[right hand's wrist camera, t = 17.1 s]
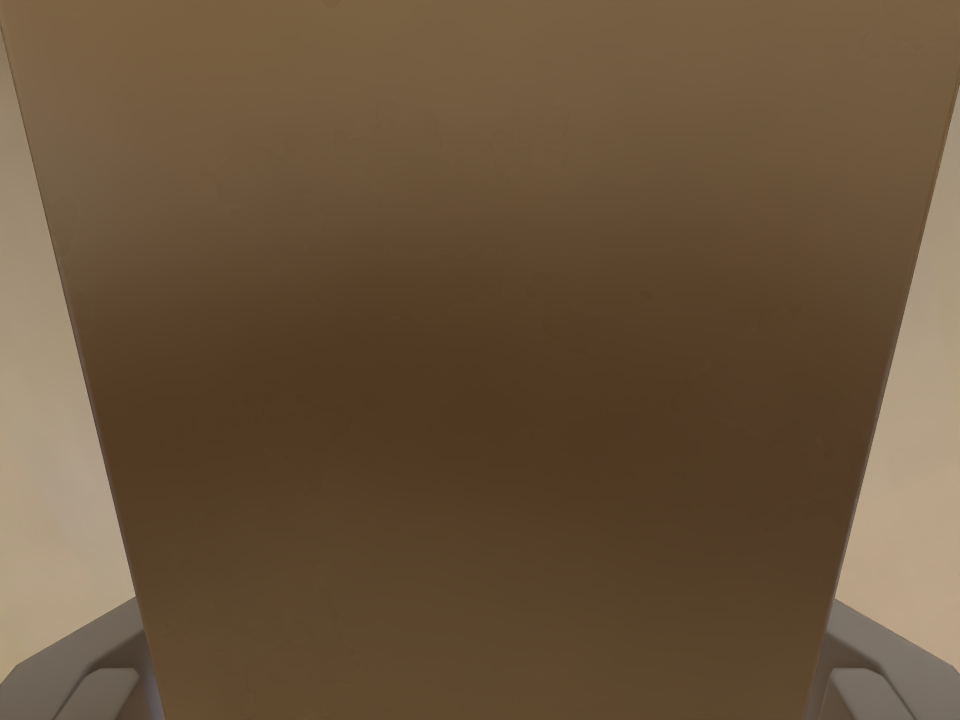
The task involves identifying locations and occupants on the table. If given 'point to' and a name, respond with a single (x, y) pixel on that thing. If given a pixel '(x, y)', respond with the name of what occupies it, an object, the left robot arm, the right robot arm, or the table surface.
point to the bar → (485, 334)
